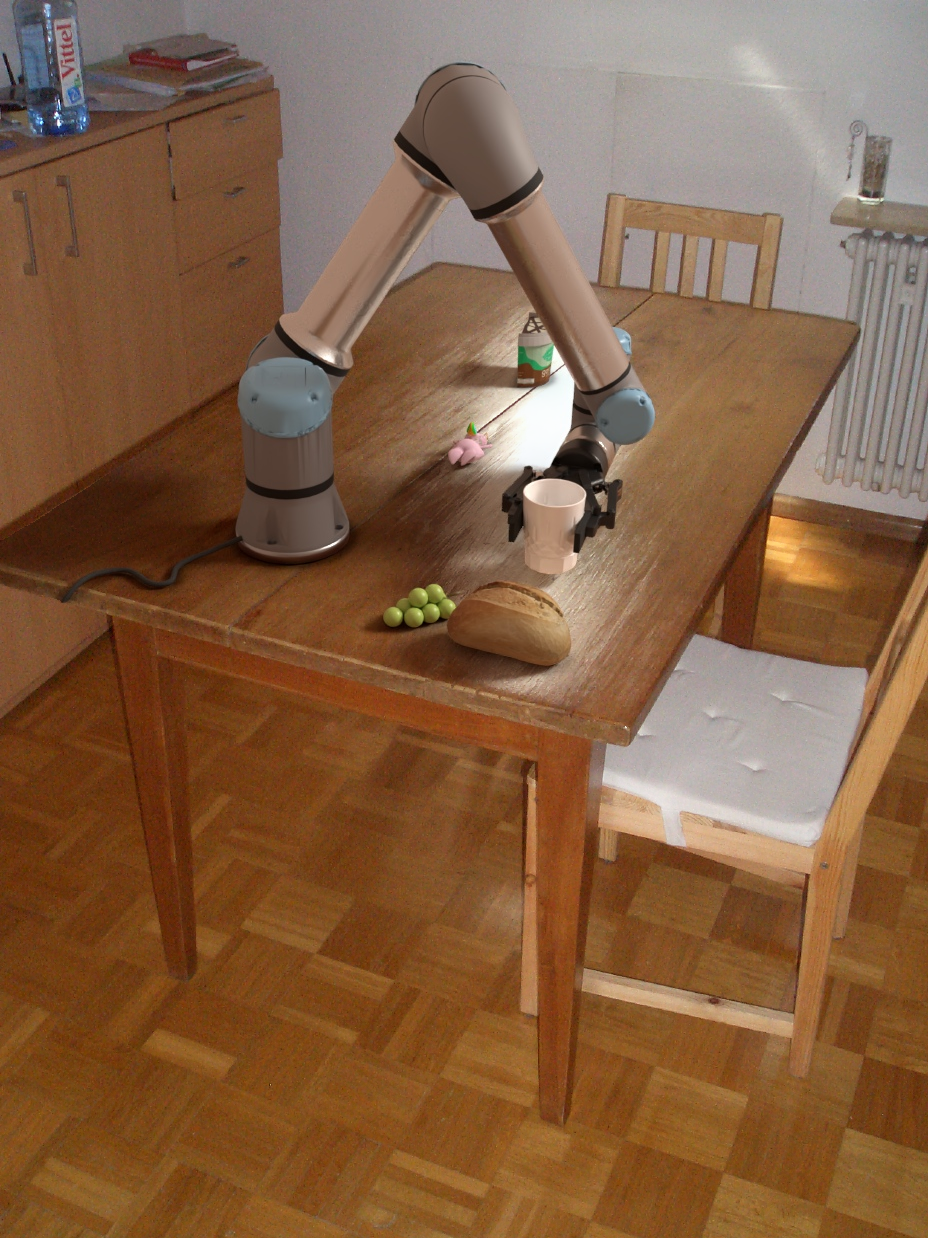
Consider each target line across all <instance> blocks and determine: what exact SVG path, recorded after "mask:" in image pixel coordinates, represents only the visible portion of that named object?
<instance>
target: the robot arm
mask: <svg viewBox="0 0 928 1238" xmlns="http://www.w3.org/2000/svg"><path fill="white" fill-rule="evenodd" d="M408 114H409V115H408V116H407V118H406V119H405V120H404V122H403V124H402V126H401V127H400V129H399V130H398V132H397V133H396V135H395V136H394V137H393V140H392V145H393V151H394V156H395V157H394V161H393V162H392V164H391V165H390V167H389V169H388V170H387V172H386V173H385V175H384V176H383V178H382V180H381V181H380V182H379V184H378V186H377V187H376V189H375V190H374V191H373V193H372V195H371V196H370V198H369V200H368V201H367V203H366V204H365V206H364V208H363V209H362V211H361V212H360V214H359V215H358V217H357V219H356V220H355V221H354V223H353V224H352V226H351V228H350V229H349V230H348V233H347V234H346V236H345V237H344V239H343V240H342V242H341V243H340V245H339V246H338V248H337V249H336V251H335V253H334V254H333V256H332V258H331V259H330V261H329V262H328V264H327V265H326V266H325V268H324V270H323V272H322V273H321V274H320V276H319V278H318V279H317V281H316V282H315V283H314V285H313V287H312V288H311V290H310V292H309V293H308V295H307V296H306V298H305V299H304V301H303V302H302V304H301V306H300V307H299V308H298V310H297V311H293V312H287V313H283V314H281V315H280V317H279V319H277V321H276V323H275V325H274V326H273V328H271V331H270V332H269V333H268V334H267V335H265V336H263V337H262V338H261V339H260V340H259V341H258V342H257V344H256V345H255V346H254V347H253V349H252V350H251V352H250V354H249V356H248V358H247V361H246V365H245V372H243V374H242V375H241V378H240V380H239V384H238V392H237V393H238V394H237V406H238V411H239V412H240V425H241V440H242V451H243V462H244V464H243V465H244V475H245V490H244V494H243V497H242V501H241V504H240V508H239V512H238V516H237V519H236V524H235V537H233V538H231V539H229V540H227V541H224V542H222V543H219V544H217V545H215V546H212V547H210V548H208V549H205V550H202V551H199V552H197V553H194V554H192V555H189V556H187V557H185V558H183V559H182V560H180V561H178V562H177V563H176V564H175V565H174V566H173V568H172V570H171V573H170V577H169V578H168V579H166V580H161V581H155V580H151V579H150V578H148V577H146V576H145V575H143V574H142V573H141V572H140V571H137V570H136V569H134V568H131V567H126V566H124V567H110V568H104V569H99V570H95V571H92V572H89V573H87V574H85V575H83V576H82V577H80V578H79V579H78V580H76V582H75V583H73V584H72V585H71V587H69V589H68V590H67V592H65V594H64V595H63V596H62V598H61V600H60V604H65V603H67V602H69V600H70V599H71V597H72V596H73V595H74V594H75V593H76V592H77V590H79V588H80V587H81V586H83V585H84V584H86V582H88V581H89V580H91V579H94V578H97V577H100V576H105V575H109V574H110V575H112V574H121V573H123V574H129V575H132V576H133V577H135V578H137V579H138V580H139V581H140V582H141V583H143V584H145V585H147V586H149V587H152V588H164V587H168V586H171V585H173V584H174V583H175V582H176V579H177V576H178V573H179V570H180V569H181V568H183V567H184V566H186V565H187V564H190V563H192V562H194V561H196V560H199V559H202V558H205V557H207V556H210V555H212V554H214V553H216V552H220V551H221V550H224V549H226V548H229V547H231V546H234V545H235V544H237V546H238V548H239V549H240V550H241V551H242V552H243V553H244V554H246V555H248V556H250V557H252V558H254V559H256V560H260V561H261V562H262V561H263V562H267V563H273V564H283V565H294V564H295V565H296V564H307V563H311V562H316V561H319V560H323V559H326V558H328V557H331V556H332V555H335V554H336V553H338V552H339V551H342V549H343V548H344V547H345V546H346V545H347V544H348V542H349V540H350V536H351V535H350V532H351V531H350V530H351V529H350V520H349V517H348V514H347V512H346V510H345V507H344V505H343V502H342V499H341V497H340V494H339V492H338V489H337V487H336V485H335V466H334V465H335V464H334V440H333V439H334V437H333V436H334V435H333V413H332V412H333V410H332V408H333V403H334V401H333V399H334V398H333V397H334V394H335V393H336V392H337V390H338V388H339V387H340V386H341V384H342V383H343V381H344V380H345V378H346V377H347V375H348V374H349V372H350V371H351V369H352V368H353V366H354V358H353V354H352V347H353V346H354V344H355V343H356V342H357V340H358V339H359V337H360V335H361V334H362V333H363V331H364V329H365V328H366V327H367V325H368V323H369V322H370V321H371V319H372V317H373V316H374V314H375V313H376V312H377V310H378V309H379V307H380V306H381V304H382V303H383V301H384V300H385V299H386V297H387V295H388V294H389V293H390V291H391V289H393V287H394V286H395V283H396V282H397V280H398V279H399V277H401V274H402V273H403V272H404V270H405V269H406V267H407V266H408V264H409V262H410V261H411V260H412V258H413V257H414V255H415V254H416V253H417V251H418V249H419V248H420V246H421V245H422V243H423V241H424V240H425V239H426V237H427V236H428V235H429V233H430V231H431V230H432V228H433V227H434V226H435V224H436V222H437V221H438V220H439V218H440V216H442V213H443V212H444V210H445V209H446V208H447V206H448V205H449V203H450V202H451V201H453V200H457V199H462V200H463V201H464V204H465V205H466V207H467V209H468V211H469V212H470V214H471V215H472V218H473V220H474V221H475V222H479V223H483V224H486V225H487V227H488V228H489V230H490V233H491V234H492V236H493V238H494V239H495V241H496V243H497V246H498V247H499V248H500V250H501V252H502V254H503V255H504V257H505V259H506V262H507V263H508V265H509V267H510V268H511V270H512V272H513V274H514V276H515V277H516V279H517V282H518V283H519V284H520V286H521V288H522V290H523V292H524V294H525V295H526V297H527V299H528V301H529V302H530V305H531V306H532V308H533V310H534V311H535V312H534V313H537V315H538V317H539V319H540V321H541V322H542V324H543V326H544V328H545V330H546V331H547V333H548V335H549V337H550V339H551V340H552V342H553V344H554V349H556V351H557V353H558V355H559V357H560V358H561V360H562V362H563V364H564V365H565V367H566V369H567V371H568V373H569V375H570V377H571V378H572V379H573V383H574V384H573V399H572V406H571V407H572V408H571V422H570V427H569V431H568V432H567V435H566V437H565V438H564V439H563V441H562V443H561V444H560V446H559V448H558V450H557V452H556V454H555V455H554V457H553V459H552V461H551V463H550V466H549V467H547V468H545V469H544V470H543V471H536V470H534V468H533V466H531V465H525V466H523V473H521V474H520V475H519V476H518V477H517V478H516V479H515V480H514V481H513V482H512V483H511V484H510V485H509V486H508V487H507V488H506V489H505V490H504V491H503V492H502V493H501V512H502V513H504V514H507V517H506V519H507V521H506V522H507V525H508V533H507V534H508V537H507V542H508V543H512V544H515V542H516V540H517V539H518V536H519V534H520V533H521V531H522V530H523V490H524V488H525V487H526V486H527V485H528V484H529V483H531V482H534V481H537V480H542V479H561V480H567V481H570V482H573V483H576V484H578V485H579V486H581V487H582V488H583V489H584V490H585V492H586V500H585V507H584V515H583V517H582V518H581V521H580V523H579V525H578V527H577V529H576V531H575V534H574V547H573V553H577V554H580V552H581V550H582V548H583V545H584V543H585V541H586V539H587V538H593V539H594V537H596V535H597V532H598V530H599V529H600V528H601V527H604V528H605V529H607V530H613V529H615V527H616V518H617V517H616V516H617V505H618V502H619V501H620V500H621V499H622V496H623V485H624V481H623V479H620V478H616V479H613V481H606V477H607V475H608V473H609V470H610V468H611V466H612V464H613V462H614V459H615V458H616V455H617V453H618V452H619V449H620V448H621V446H630V445H633V444H636V443H639V442H640V441H641V440H643V439H645V437H647V436H648V435H649V433H650V432H651V431H652V429H653V427H654V424H655V421H656V411H655V407H654V405H653V401H652V399H651V396H650V395H649V394H648V392H647V391H646V389H645V388H644V386H643V384H642V382H641V380H640V378H639V376H638V374H637V372H636V370H635V368H634V367H633V365H632V363H631V356H632V354H633V351H632V338H631V335H630V334H629V332H627V331H626V330H625V329H622V328H621V327H616V326H612V324H611V322H610V320H609V318H608V316H607V315H606V312H605V311H604V309H603V307H602V304H601V302H600V301H599V299H598V297H597V294H596V293H595V291H594V289H593V287H592V285H591V284H590V281H589V280H588V278H587V276H586V274H585V272H584V270H583V269H582V266H581V264H580V262H579V260H578V259H577V256H576V254H575V253H574V250H573V248H572V247H571V245H570V242H569V240H568V239H567V237H566V235H565V233H564V231H563V229H562V227H561V226H560V224H559V221H558V220H557V218H556V216H555V214H554V212H553V210H552V208H551V205H550V204H549V202H548V201H547V199H546V196H545V195H544V192H543V187H544V184H545V180H546V179H545V176H544V174H543V172H542V170H541V169H540V166H539V164H538V162H537V159H536V158H535V155H534V153H533V150H532V147H531V144H530V142H529V139H528V136H527V134H526V131H525V127H524V125H523V122H522V119H521V116H520V112H519V109H518V107H517V104H516V103H515V101H514V100H513V97H512V96H511V95H510V94H509V93H508V90H507V89H506V86H505V84H504V83H503V81H502V80H501V79H499V78H498V76H496V74H495V73H494V72H493V71H492V70H489V69H487V68H486V67H485V66H483V65H481V64H478V63H475V62H471V61H466V60H465V61H464V60H455V61H451V62H447V63H444V64H442V65H439V66H438V67H437V68H435V69H434V70H432V71H431V72H430V73H429V74H428V75H427V77H425V79H424V80H423V81H422V82H421V84H420V85H419V87H418V89H417V94H416V95H415V100H414V106H413V108H412V109H411V111H410V113H408ZM602 492H604V493H603V494H604V495H605V496H606V500H607V501H606V502H607V503H606V511H602V506H603V504H599V502H598V500H597V496H596V495H598V494H601V493H602Z"/></svg>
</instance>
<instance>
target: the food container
mask: <svg viewBox="0 0 928 1238" xmlns="http://www.w3.org/2000/svg"><path fill="white" fill-rule="evenodd" d="M522 329H523V330H522V332H519V333H518V335H517V370H516V371H517V372H516V388H521V389H523V388H524V389H525V388H536V387H541V386H544V385H546V384H548V383H549V381H550V378H551V369H552V362H553V356H554V349H555V346H554V344H553V342H552V340H551V339H550V337H549V335H548V333H547V331H546V330H545V328H544V326H543V324H542V322H541V321H540V319H539V317H538V315H537V313H536V312H532V311H528V319H527V321H526V323H525V324H524V326H523V328H522Z"/></svg>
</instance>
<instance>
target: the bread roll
mask: <svg viewBox="0 0 928 1238" xmlns="http://www.w3.org/2000/svg"><path fill="white" fill-rule="evenodd" d="M569 627H570V626H569V624H568V621H567V620H566V617H565V615H564V613H563V610H562V609H561V607H560V606H559V604H558V603H557V601H556V600H555V599H554V598H553V596H551V595H550V594H549V593H547V592H546V591H544V590H542V589H540V588H538V587H537V586H533V585H530V584H527V583H523V582H519V581H513V580H495V581H491V582H488V583H485V584H481V585H479V586H478V587H477V588H476V589H475V590H473V592H471V593H469V594H468V595H466V596H465V597H463V599H462V600H461V601H460V602H459V603H458V604H457V606H456V608H455V609H454V610H453V611H452V613H451V615H450V617H449V618H448V619H447V622H446V630H447V634H448V636H449V637H450V639H451V640H453V642H454V643H456V644H459V645H461V646H463V647H467V648H471V649H475V650H479V651H482V652H488V653H491V654H496V655H499V656H504V657H508V658H511V659H515V660H518V661H522V662H525V663H528V664H529V663H530V664H534V665H539V666H548V667H549V666H552V665H557V664H558V663H560V662H562V661H564V660H565V659H566V658H567V657H569V654H570V652H571V649H572V639H571V630H570V628H569Z"/></svg>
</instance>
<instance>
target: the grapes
mask: <svg viewBox="0 0 928 1238" xmlns="http://www.w3.org/2000/svg"><path fill="white" fill-rule="evenodd" d="M464 594H466V590H465V589H459V590H456V591H453V592H448V593H447V594H445V592H444V589H443V588H442V587H441V586H440V585H439V584H437V583H431V584H428V585H427V586H426V587H425V589H424V588H421V587H415V588H413V589H412V590H411V591H410V592H409V593H408V598H407V597H404V598H401V599H399V600H398V601H396V604H395V606H392V607H391V606H390V607H388V608H387V609H385V611H384V613H383V616H382V619H383V621H384V623H385V625H387V626H389V627H390V628H391V627H392V628H395V627H398V626H400V625H401V624H402V622H403V620H404V622H405V624H406V625H407V626H408V627H411V628H417V627H420V626H421V625H422V624H423V622H425V623H427V624H432V623H436V622H437V620H439V618H442V619H445V620H448V619H449V617H450V615H451V613H452V611H453V610H454V609H455V608H456V607H457V606H456V604H455V602H454V601H453V600H451V599H449V598H453V597H457V596H460V595H464Z"/></svg>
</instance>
